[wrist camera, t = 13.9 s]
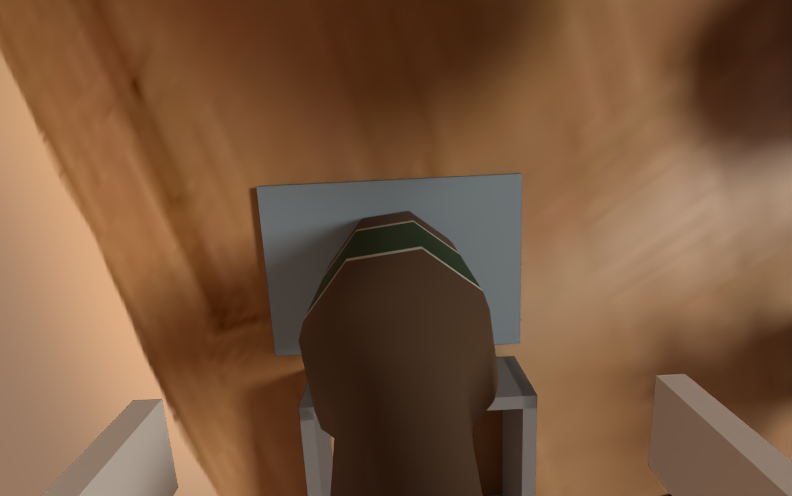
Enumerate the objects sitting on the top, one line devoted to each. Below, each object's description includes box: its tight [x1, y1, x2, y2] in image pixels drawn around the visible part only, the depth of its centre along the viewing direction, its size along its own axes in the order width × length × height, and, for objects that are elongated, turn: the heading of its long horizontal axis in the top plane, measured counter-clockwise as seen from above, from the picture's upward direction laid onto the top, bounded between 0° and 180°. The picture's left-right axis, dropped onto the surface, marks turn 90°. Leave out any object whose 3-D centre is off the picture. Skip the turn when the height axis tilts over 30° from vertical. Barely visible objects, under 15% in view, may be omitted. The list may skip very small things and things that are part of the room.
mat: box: [256, 173, 522, 356], centre depth 30 cm, size 11×16×1 cm
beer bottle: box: [298, 211, 499, 496], centre depth 18 cm, size 8×8×24 cm
